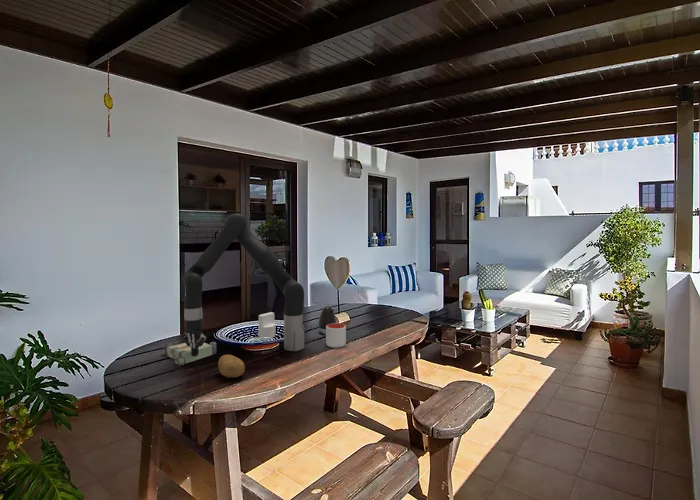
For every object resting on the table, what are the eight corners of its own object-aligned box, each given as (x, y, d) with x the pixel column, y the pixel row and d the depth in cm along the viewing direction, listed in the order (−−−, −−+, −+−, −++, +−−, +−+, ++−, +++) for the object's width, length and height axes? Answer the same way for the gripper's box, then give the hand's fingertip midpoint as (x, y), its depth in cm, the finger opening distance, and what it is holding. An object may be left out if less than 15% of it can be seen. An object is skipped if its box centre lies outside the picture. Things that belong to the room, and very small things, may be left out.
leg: (213, 351, 192) (213, 341, 191) (217, 352, 190) (217, 342, 190) (181, 362, 178) (181, 351, 177) (185, 363, 176) (185, 352, 176)
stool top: (215, 355, 187) (215, 344, 187) (180, 366, 174) (180, 354, 173) (193, 346, 199) (192, 336, 199) (158, 355, 186) (158, 344, 185)
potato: (228, 385, 155) (228, 365, 154) (212, 374, 165) (212, 355, 164) (251, 378, 161) (251, 359, 161) (234, 368, 172) (234, 350, 171)
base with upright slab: (265, 339, 212) (265, 317, 211) (254, 336, 217) (254, 314, 216) (278, 335, 219) (278, 313, 218) (267, 332, 224) (267, 311, 223)
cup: (348, 343, 206) (349, 324, 205) (340, 349, 197) (340, 329, 196) (331, 341, 210) (331, 322, 209) (322, 346, 201) (322, 327, 200)
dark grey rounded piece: (326, 337, 217) (326, 309, 216) (314, 332, 225) (314, 305, 223) (340, 333, 224) (340, 306, 222) (329, 329, 231) (329, 303, 230)
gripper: (211, 316, 177) (212, 355, 179) (188, 314, 182) (189, 351, 184) (199, 321, 170) (200, 360, 172) (175, 318, 175) (177, 356, 177)
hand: (194, 355), depth 178 cm, fingers closed
